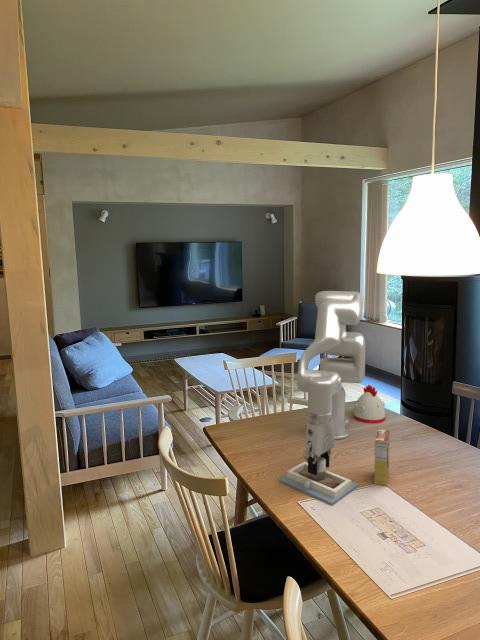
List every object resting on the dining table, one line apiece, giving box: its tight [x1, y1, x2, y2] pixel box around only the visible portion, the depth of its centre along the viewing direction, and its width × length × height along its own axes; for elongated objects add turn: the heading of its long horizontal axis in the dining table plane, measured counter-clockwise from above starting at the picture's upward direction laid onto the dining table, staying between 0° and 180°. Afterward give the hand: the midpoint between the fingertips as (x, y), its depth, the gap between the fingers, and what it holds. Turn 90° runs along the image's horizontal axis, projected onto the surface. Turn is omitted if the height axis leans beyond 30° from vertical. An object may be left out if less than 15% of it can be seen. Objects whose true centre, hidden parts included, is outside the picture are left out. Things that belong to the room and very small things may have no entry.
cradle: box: [278, 461, 360, 506], centre depth 147 cm, size 15×20×3 cm
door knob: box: [299, 456, 339, 489], centre depth 147 cm, size 13×4×8 cm, turn 42°
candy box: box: [373, 429, 391, 487], centre depth 149 cm, size 9×4×15 cm, turn 158°
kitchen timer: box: [352, 384, 386, 425], centre depth 202 cm, size 14×14×15 cm
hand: (318, 469), depth 147 cm, fingers open, 6 cm apart
